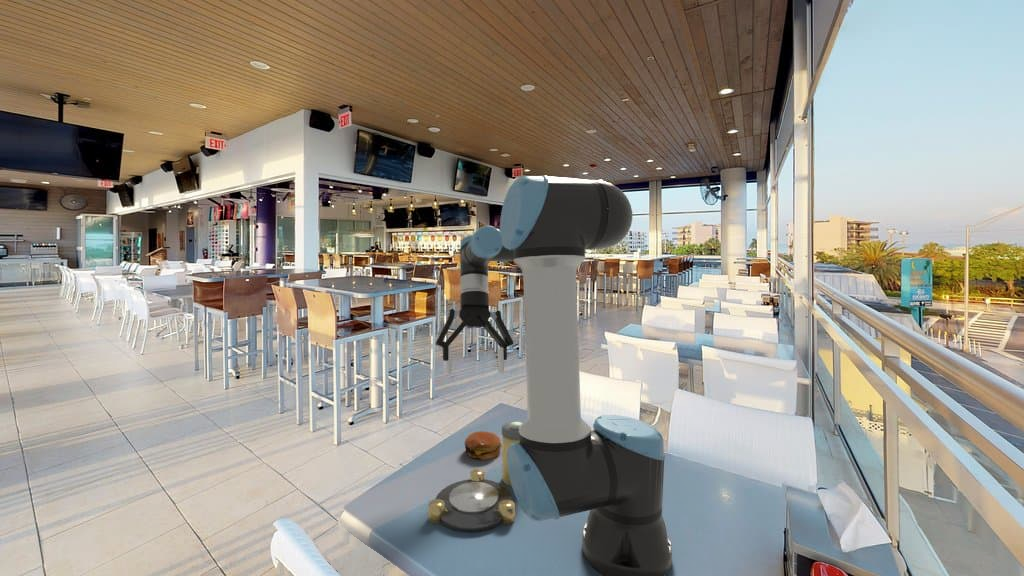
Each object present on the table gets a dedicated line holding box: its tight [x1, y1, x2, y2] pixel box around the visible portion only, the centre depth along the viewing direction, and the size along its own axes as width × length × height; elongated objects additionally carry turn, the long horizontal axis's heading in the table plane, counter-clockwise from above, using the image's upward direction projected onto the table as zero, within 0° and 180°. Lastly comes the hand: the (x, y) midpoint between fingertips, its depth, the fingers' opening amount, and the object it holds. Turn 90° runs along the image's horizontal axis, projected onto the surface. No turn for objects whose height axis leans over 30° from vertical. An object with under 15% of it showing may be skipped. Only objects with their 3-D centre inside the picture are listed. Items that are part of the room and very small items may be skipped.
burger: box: [464, 430, 503, 461], centre depth 110 cm, size 10×9×5 cm
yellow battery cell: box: [501, 421, 524, 487], centre depth 96 cm, size 7×7×13 cm
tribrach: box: [427, 468, 516, 533], centre depth 85 cm, size 17×18×3 cm
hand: (475, 373), depth 106 cm, fingers open, 13 cm apart
